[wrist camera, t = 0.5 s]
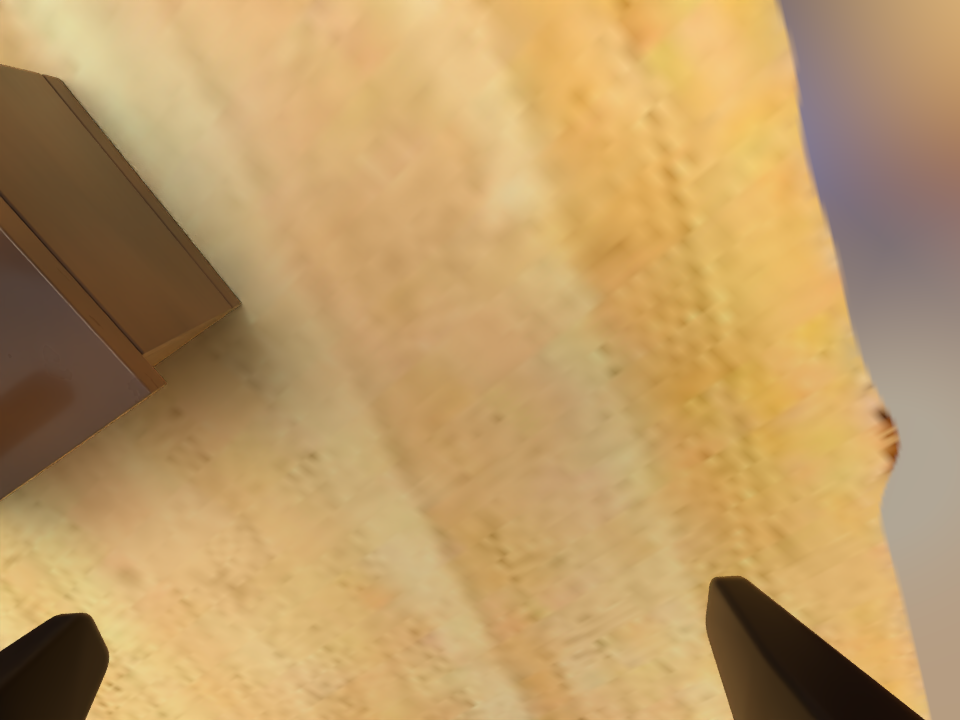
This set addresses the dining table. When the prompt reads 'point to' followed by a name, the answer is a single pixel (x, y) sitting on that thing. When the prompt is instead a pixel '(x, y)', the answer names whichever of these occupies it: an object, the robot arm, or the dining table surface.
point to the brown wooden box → (102, 218)
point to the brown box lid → (55, 360)
